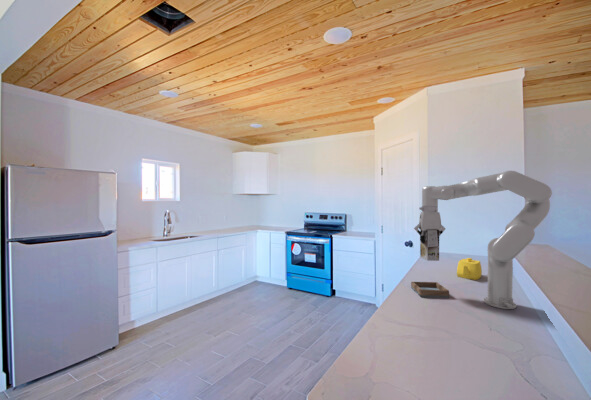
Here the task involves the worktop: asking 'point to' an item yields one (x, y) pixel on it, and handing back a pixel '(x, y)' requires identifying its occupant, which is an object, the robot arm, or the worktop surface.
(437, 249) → the coffee box
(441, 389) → the worktop surface
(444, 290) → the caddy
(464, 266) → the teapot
